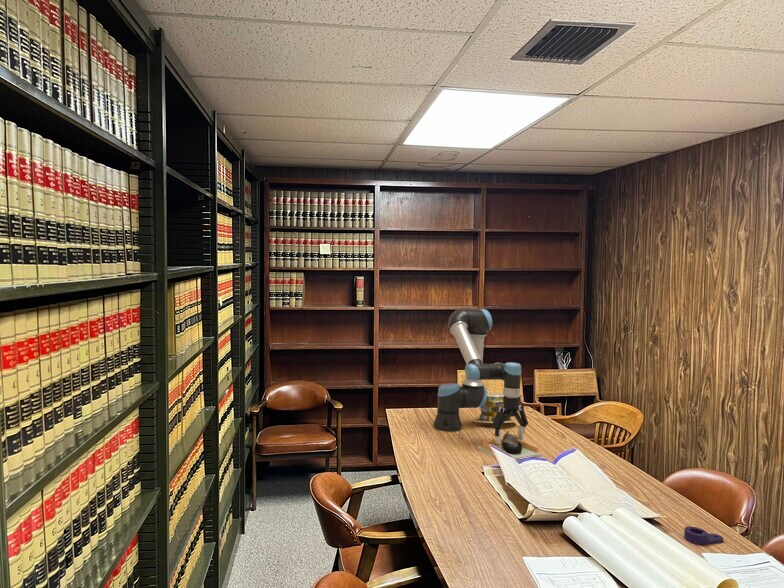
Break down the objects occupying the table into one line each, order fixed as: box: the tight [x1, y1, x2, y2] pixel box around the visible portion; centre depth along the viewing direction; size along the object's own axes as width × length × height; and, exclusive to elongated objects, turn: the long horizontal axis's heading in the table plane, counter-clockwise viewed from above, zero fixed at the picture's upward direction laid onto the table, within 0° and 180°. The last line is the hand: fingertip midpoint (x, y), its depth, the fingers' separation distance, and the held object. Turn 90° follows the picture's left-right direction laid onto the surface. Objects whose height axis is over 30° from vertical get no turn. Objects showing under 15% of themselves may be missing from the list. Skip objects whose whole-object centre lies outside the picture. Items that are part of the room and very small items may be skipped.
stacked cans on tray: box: [471, 393, 518, 424], centre depth 296 cm, size 25×25×17 cm
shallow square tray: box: [477, 438, 542, 459], centre depth 244 cm, size 20×21×4 cm
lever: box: [683, 525, 724, 546], centre depth 164 cm, size 12×6×3 cm, turn 97°
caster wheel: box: [502, 430, 522, 454], centre depth 244 cm, size 7×11×10 cm
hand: (509, 441), depth 244 cm, fingers open, 13 cm apart
